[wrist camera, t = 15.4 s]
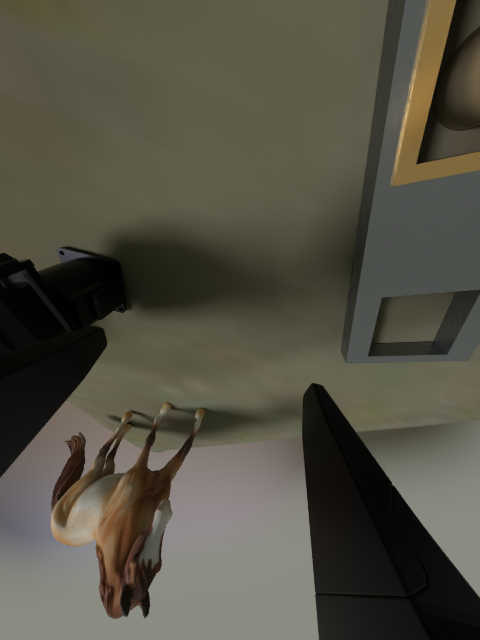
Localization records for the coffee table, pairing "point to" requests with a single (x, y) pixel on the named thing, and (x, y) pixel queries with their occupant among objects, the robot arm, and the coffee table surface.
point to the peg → (461, 87)
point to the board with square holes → (414, 202)
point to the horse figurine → (118, 515)
